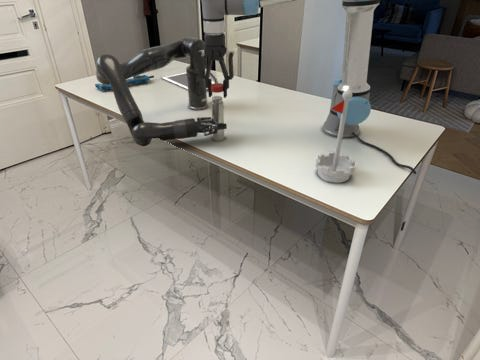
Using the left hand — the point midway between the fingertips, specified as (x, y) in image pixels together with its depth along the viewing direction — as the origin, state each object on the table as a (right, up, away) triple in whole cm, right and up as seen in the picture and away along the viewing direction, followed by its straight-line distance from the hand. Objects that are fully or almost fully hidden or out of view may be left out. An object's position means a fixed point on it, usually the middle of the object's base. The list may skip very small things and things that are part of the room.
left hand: (224, 123), depth 141 cm
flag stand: (+40, -22, -22) cm, 50 cm away
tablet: (-25, +38, +70) cm, 84 cm away
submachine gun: (-64, +36, +67) cm, 100 cm away
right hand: (-2, +10, -7) cm, 12 cm away
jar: (-2, -6, +3) cm, 7 cm away
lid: (-2, +13, -10) cm, 16 cm away
